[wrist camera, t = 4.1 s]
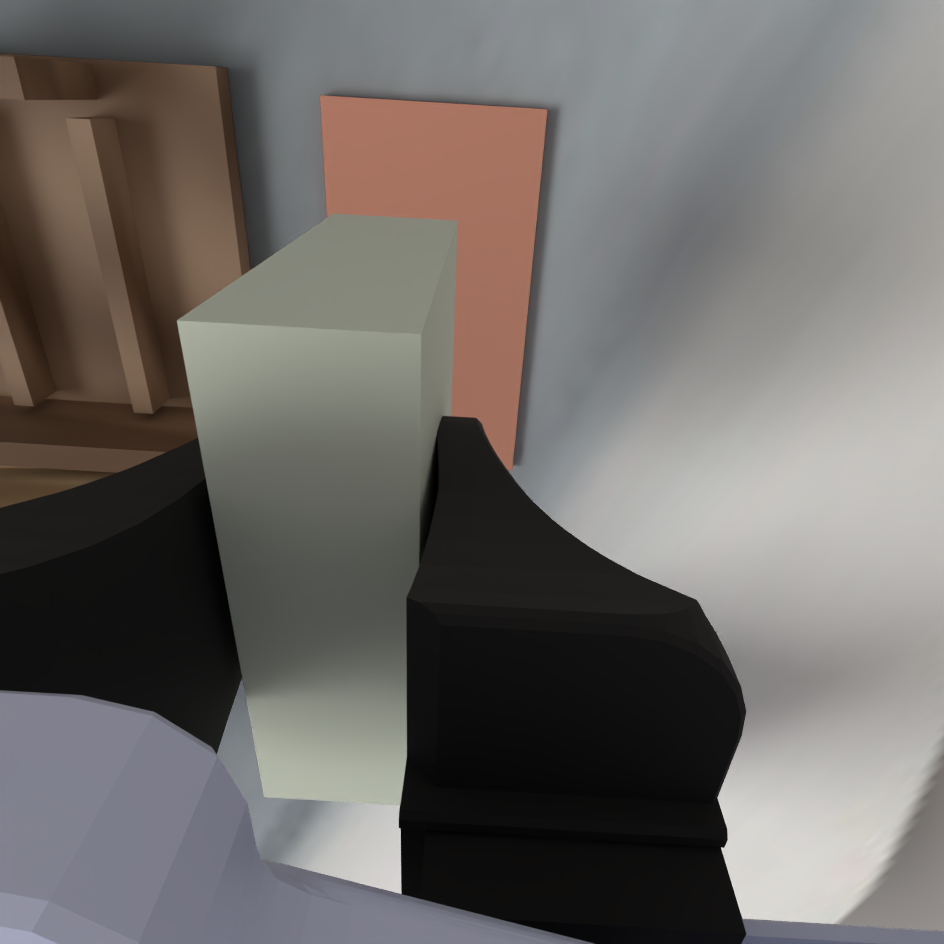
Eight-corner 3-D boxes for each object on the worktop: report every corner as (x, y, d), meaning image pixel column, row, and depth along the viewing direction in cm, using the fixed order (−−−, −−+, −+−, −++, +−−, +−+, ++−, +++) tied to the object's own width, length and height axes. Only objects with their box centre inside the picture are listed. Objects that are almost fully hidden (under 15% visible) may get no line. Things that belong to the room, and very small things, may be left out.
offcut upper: (210, 552, 21) (181, 596, 19) (33, 551, 22) (-13, 595, 20) (186, 468, 20) (153, 508, 18) (-5, 468, 20) (-57, 507, 18)
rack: (281, 531, 25) (248, 599, 21) (45, 517, 25) (-25, 582, 21) (226, 68, 17) (162, 60, 14) (-114, 46, 17) (-260, 34, 14)
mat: (511, 466, 23) (512, 470, 22) (342, 455, 23) (340, 459, 23) (546, 109, 17) (547, 109, 17) (322, 95, 17) (319, 95, 17)
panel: (446, 542, 16) (417, 806, 10) (351, 536, 16) (264, 796, 10) (457, 220, 12) (421, 333, 6) (333, 213, 12) (177, 321, 6)
